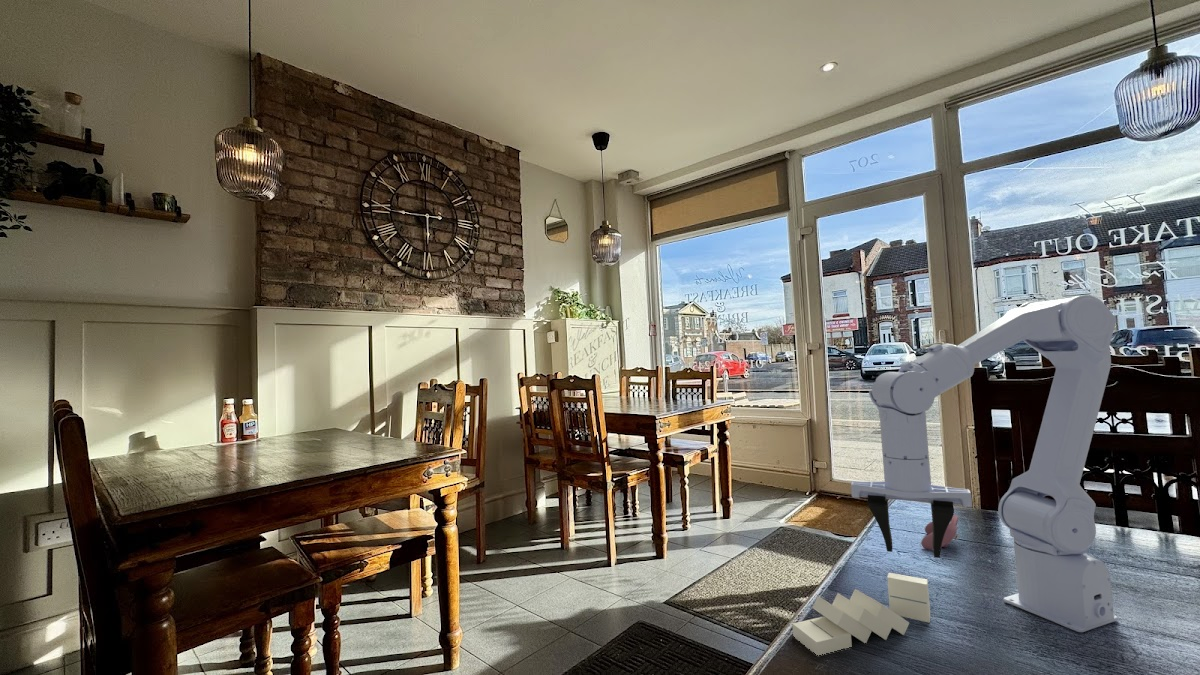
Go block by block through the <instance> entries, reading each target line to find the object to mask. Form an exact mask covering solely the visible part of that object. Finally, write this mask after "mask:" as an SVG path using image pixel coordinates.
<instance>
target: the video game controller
mask: <svg viewBox="0 0 1200 675" xmlns="http://www.w3.org/2000/svg"><path fill="white" fill-rule="evenodd" d="M959 519H960V517H959V516H957V515H956V514H954V515H953V517H952V519H951V521H950V523H949V525H948V527H947V529H946V532H945V534H944V537H943V541H942V545H941V548H946V549H947V546H948V545H949V544H950V543H951V542H952V540H955V541H957V540H959V537H960V533H957V532H958V531H957V530H958V526H957V525H958V522H959ZM924 532H925V533H926V534H927V535H926V536H923V538H922V539H921V541H920V542H921V547H922V548H923V549H925V550H931V551H933V523H932V521H930V522H929V523H928V524H926V526H924Z"/></svg>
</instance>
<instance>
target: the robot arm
mask: <svg viewBox="0 0 1200 675" xmlns="http://www.w3.org/2000/svg"><path fill="white" fill-rule="evenodd" d="M1116 323H1117V318H1116V316H1115V315H1114V314H1113V313H1112V311H1111V310H1110V309H1109V308H1108V307H1107V305H1106V304H1105V303H1104V302H1103V301H1102V300H1101V299H1100V298H1098V297H1095V296H1093V295H1088V294H1084V295H1083V294H1082V295H1078V296H1077V295H1076V296H1074V297H1068V298H1061V299H1051V300H1046V301H1028V302H1025V303H1023V304H1021V305H1020V306H1018V307H1017V308H1012V309H1010V310H1007V312H1006V313H1005V314H1004V315H1003V316H1002V317H1000V318H998V319H997V320H995V321H994V322H992V323H991V324H988V325H987V326H986V327H984V328H983V329H981V330H980V331H978V332H976V333H975V334H973V335H972V336H970V337H969V338H967V339H966V340H964V341H963V342H961V343H959V344H958V345H956V344H953V343H942V344H941V343H934V344H932V345H930V346H928V347H927V351H928V352H926V353H925V354H923V355H921V356H919V357H917V358H916V359H914V360H912V361H904V362H902V363H901V364H899V367H900V368H899V369H898V371H886V372H883V373H881V374H879V375H878V376H877V377H876V379H875V381H873V384H872V387H871V388H872V389H871V390H869V391H868V393H869V398H870V400H871V402H872V403H873V404H874V405H875V407H876V409H877V410H878V417H879V426H880V427H879V428H880V438H881V450H882V462H883V463H882V464H883V465H882V466H883V477H884V478H883V479H884V481H853V480H852V481H851V483H850V490H851V491H850V492H851V497H852V498H855V499H857V498H858V499H860V498H867V507H868V508H869V510H870V512H871V514H872V515H873V518H874V520H876V523H877V524H878V527H879V529H880V532H881V534H882V537H883V540H884V543H885V547H886V551H887V552H891V553H893V537H892V532H891V530H892V529H891V525H890V515H889V514H890V513H889V500H894V501H895V500H897V501H906V502H907V501H908V502H918V503H919V502H920V503H930V510H931V519H932V520H931V522H932V523H933V550H932V552H933V557H934V558H937V559H940V558H941V552H942V551H941V549H942V547H941V545H942V541H943V537H944V534H945V532H946V529H947V527H948V525H949V523H950V521H951V519H952V517H953V515H955V508H954V505H956V506H957V505H958V506H962V507H966V508H972V507H973V499H972V492H971V490H970V489H969V488H959V487H958V488H957V487H950V486H942V485H935V484H932V478H931V475H932V474H931V466H930V455H929V454H930V453H929V442H928V441H929V440H928V430H927V429H928V428H927V417H926V416H927V415H926V411H929V410H930V409H931V407H932V406H933V404H934V402H935V398H936V397H938V396H940V395H941V394H943V393H945V392H947V391H948V390H950V389H952V388H954V387H956V386H957V385H960V384H961V383H963V382H964V381H967V380H968V379H970V378H971V377H973V375H974V372H975V365H977V364H978V363H980V362H983V361H984V360H987V359H988V358H991V357H993V356H995V355H996V354H998V353H1001V352H1003V351H1005V350H1007V349H1009V348H1010V347H1013V346H1015V345H1017V344H1019V343H1021V342H1024V343H1026V344H1027V345H1028V346H1029V347H1031V348H1033V350H1035V351H1036V353H1037V352H1038V353H1039V354H1040V355H1041V356H1043V357H1044V358H1046V359H1047V360H1049V362H1051V364H1052V365H1053V366H1054V368H1055V372H1054V374H1053V375H1054V376H1053V379H1052V383H1051V387H1050V391H1049V395H1048V398H1047V400H1046V401H1047V402H1046V406H1045V409H1044V412H1043V416H1042V421H1041V424H1040V428H1039V432H1038V435H1037V439H1036V442H1035V446H1034V451H1033V453H1032V458H1031V462H1030V465H1029V469H1028V470H1027V471H1025V472H1023V473H1021V474H1020V475H1018V476H1015V477H1014V478H1012V479H1011V483H1010V485H1009V488H1008V490H1007V492H1005V493H1004V495H1003V496H1002V497H1001V498H1000V501H999V503H998V508H997V510H998V511H997V512H998V517H999V519H1000V521H1001V522H1002V524H1003V525H1004V526H1005V527H1007V528H1008V529H1009V534H1010V535H1009V536H1010V537H1012V538H1013V546H1014V548H1013V549H1014V557H1015V559H1014V560H1015V561H1014V562H1015V569H1016V570H1015V571H1016V572H1015V573H1016V581H1017V582H1016V583H1017V593H1015V594H1011V595H1008V596H1005V597H1003V602H1005V603H1007V604H1009V605H1012V606H1014V607H1017V608H1020V609H1021V610H1024V611H1026V612H1029V613H1031V614H1033V615H1036V616H1038V617H1041V618H1044V619H1046V620H1048V621H1050V622H1053V623H1054V624H1058V625H1061V626H1062V627H1065V628H1068V629H1070V630H1073V631H1074V632H1077V633H1084V632H1087V631H1091V630H1093V629H1096V628H1099V627H1101V626H1106V625H1108V624H1111V623H1114V622H1116V621H1118V616H1117V615H1114V614H1115V613H1114V612H1115V611H1114V603H1113V601H1114V600H1113V594H1112V592H1113V591H1112V582H1111V573H1110V571H1109V568H1108V566H1107V565H1106V564H1105V562H1104V561H1101V560H1100V559H1097V558H1095V557H1093V556H1091V555H1089V554H1087V550H1088V549H1089V548H1090V546H1092V544H1093V543H1094V541H1095V538H1096V534H1097V530H1096V529H1097V527H1096V523H1095V511H1096V506H1097V505H1096V503H1095V501H1094V500H1093V499H1092V497H1090V495H1089V494H1088V493H1087V492H1086V491H1085V490H1084V489H1083V487H1082V486H1081V484H1080V483H1081V479H1082V477H1083V472H1084V470H1085V469H1084V468H1085V465H1086V462H1087V457H1088V453H1089V451H1090V445H1091V442H1092V438H1093V435H1094V430H1095V427H1096V423H1097V420H1098V415H1099V412H1100V408H1101V405H1102V400H1103V397H1104V393H1105V389H1106V385H1107V382H1108V378H1109V374H1110V370H1111V366H1112V356H1111V347H1110V346H1111V342H1112V338H1113V335H1114V330H1115V327H1116ZM1046 496H1050V497H1052V498H1053V499H1051V498H1049V497H1046Z"/></svg>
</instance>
